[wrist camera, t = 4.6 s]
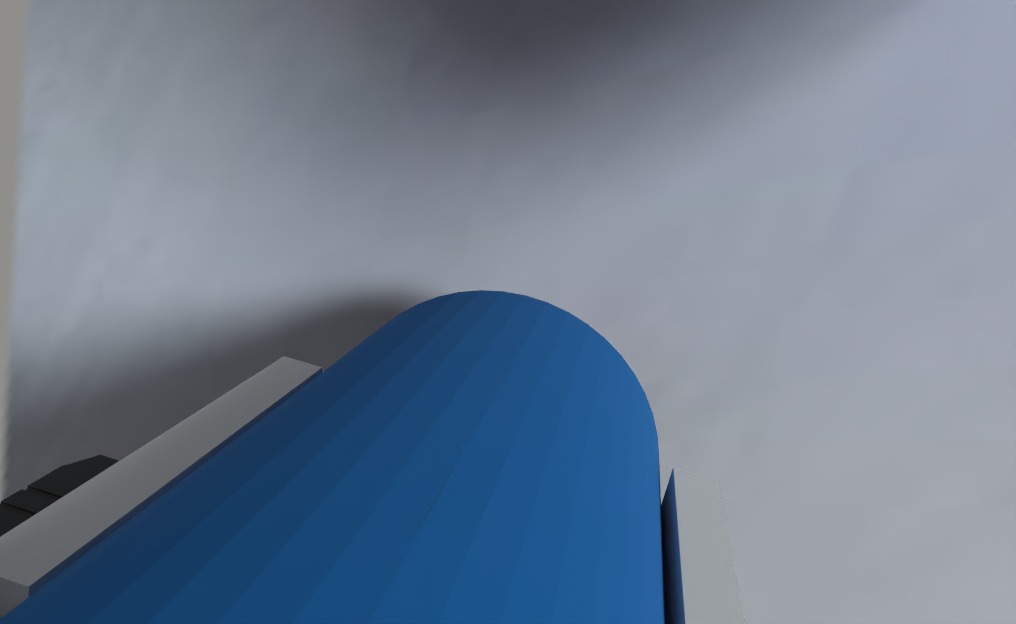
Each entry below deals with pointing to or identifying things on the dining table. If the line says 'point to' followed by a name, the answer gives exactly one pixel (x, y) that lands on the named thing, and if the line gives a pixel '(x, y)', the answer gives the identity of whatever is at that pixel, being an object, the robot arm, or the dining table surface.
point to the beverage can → (409, 492)
